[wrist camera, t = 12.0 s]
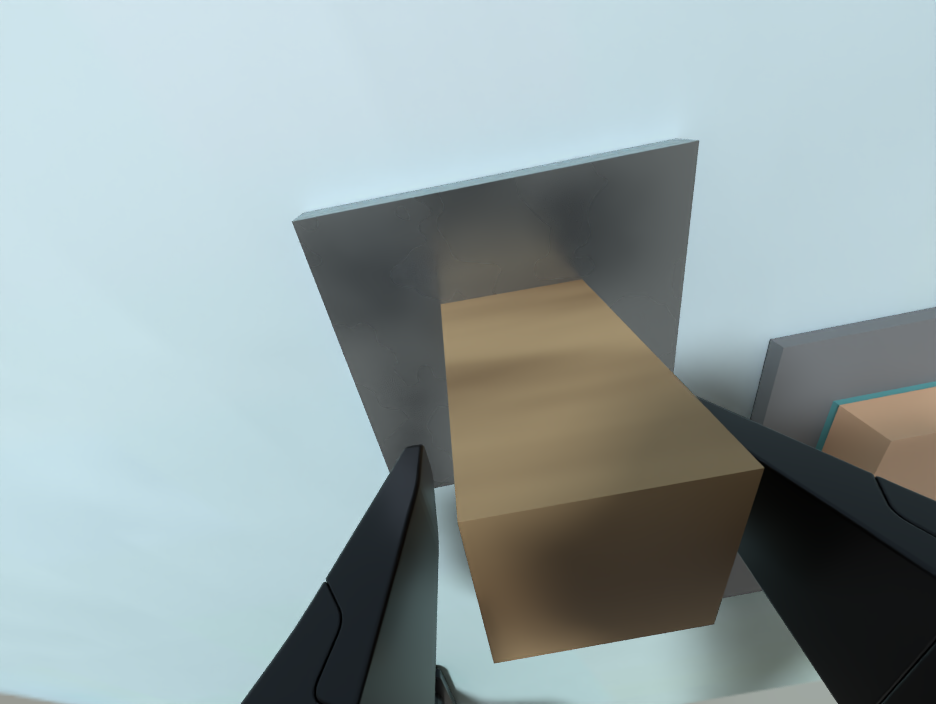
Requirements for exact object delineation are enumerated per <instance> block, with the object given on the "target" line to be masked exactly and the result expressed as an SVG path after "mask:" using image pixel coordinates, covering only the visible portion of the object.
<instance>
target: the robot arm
mask: <svg viewBox="0 0 936 704" xmlns="http://www.w3.org/2000/svg"><path fill="white" fill-rule="evenodd" d="M694 396H695V395H694ZM695 397H696V398H697V399H698V400H699V401H700V402H701V403H702V404H703V405H704V406H705V407H706V408H707V409H708V410H709V411H710V412H711V413H712V414H713V415H714V416H715V417H716V418H717V419H718V420H719V421H720V422H721V423H722V424H723V426H724V427H725V428H726V429H727V430H728V431H729V432H730V433H731V434H732V435H733V436H734V437H735V438H736V439H737V440H738V441H739V442H740V443H741V444H742V445H743V446H744V447H745V448H746V449H747V450H748V451H749V452H750V453H751V455H752V456H753V457H754V458H755V459H756V460H757V461H758V462H759V463H760V464H761V465H762V466H763V467H764V471H763V474H762V477H761V480H760V483H759V486H758V490H757V493H756V496H755V499H754V502H753V505H752V508H751V511H750V514H749V517H748V520H747V524H746V527H745V530H744V533H743V536H742V539H741V542H740V545H739V548H738V551H737V552H738V554H739V555H740V557H741V558H742V560H743V561H744V563H745V564H746V566H747V567H748V569H749V570H750V572H751V573H752V575H753V576H754V578H755V579H756V581H757V582H758V584H759V585H760V587H761V588H762V590H763V591H764V593H765V594H766V596H767V597H768V599H769V600H770V602H771V604H772V605H773V607H774V608H775V610H776V611H777V613H778V614H779V616H780V617H781V619H782V620H783V622H784V623H785V625H786V626H787V628H788V629H789V631H790V632H791V634H792V635H793V637H794V638H795V640H796V641H797V643H798V644H799V646H800V647H801V649H802V650H803V652H804V653H805V655H806V656H807V658H808V659H809V661H810V662H811V664H812V665H813V667H814V668H815V670H816V671H817V673H818V674H819V676H820V677H821V679H822V680H823V682H824V683H825V685H826V687H827V688H828V690H829V691H830V693H831V694H832V696H833V697H834V699H835V700H836V702H837V703H838V704H936V501H935V500H933V499H930V498H928V497H926V496H923V495H921V494H919V493H916V492H914V491H912V490H909V489H907V488H904V487H902V486H900V485H898V484H895V483H893V482H891V481H888V480H886V479H884V478H882V477H879V476H876V477H874V475H873V474H872V473H870V472H868V471H865V470H863V469H861V468H859V467H856V466H854V465H852V464H850V463H847V462H845V461H843V460H840V459H838V458H836V457H834V456H831V455H829V454H827V453H824V452H822V451H820V450H818V449H815V448H813V447H811V446H809V445H806V444H804V443H802V442H799V441H797V440H795V439H793V438H790V437H788V436H786V435H783V434H781V433H779V432H777V431H774V430H772V429H770V428H768V427H765V426H763V425H761V424H758V423H756V422H754V421H752V420H749V419H747V418H745V417H743V416H740V415H738V414H736V413H733V412H731V411H729V410H727V409H724V408H722V407H720V406H717V405H715V404H713V403H711V402H708V401H706V400H704V399H702V398H699V397H697V396H695ZM438 557H439V540H438V526H437V515H436V504H435V493H434V482H433V474H432V469H431V466H430V463H429V459H428V456H427V453H426V450H425V447H424V446H423V445H422V444H418V445H413V446H408V447H406V448H405V449H404V450H403V452H402V454H401V455H400V457H399V459H398V460H397V462H396V464H395V465H394V467H393V469H392V470H391V472H390V474H389V475H388V477H387V478H386V480H385V482H384V483H383V485H382V487H381V488H380V490H379V492H378V493H377V495H376V497H375V498H374V500H373V502H372V503H371V505H370V507H369V508H368V510H367V511H366V513H365V515H364V516H363V518H362V520H361V521H360V523H359V525H358V526H357V528H356V530H355V531H354V533H353V535H352V536H351V538H350V539H349V541H348V543H347V544H346V546H345V548H344V549H343V551H342V553H341V554H340V556H339V558H338V559H337V561H336V563H335V564H334V566H333V568H332V569H331V571H330V572H329V574H328V576H327V577H326V582H323V584H322V585H321V587H320V589H319V590H318V592H317V594H316V595H315V597H314V599H313V600H312V602H311V603H310V605H309V606H308V608H307V610H306V611H305V613H304V614H303V616H302V617H301V619H300V621H299V622H298V624H297V625H296V627H295V628H294V630H293V631H292V633H291V634H290V636H289V637H288V638H287V640H286V641H285V643H284V644H283V646H282V647H281V649H280V650H279V651H278V653H277V654H276V656H275V657H274V659H273V660H272V661H271V663H270V664H269V666H268V667H267V668H266V670H265V671H264V672H263V674H262V675H261V677H260V678H259V679H258V681H257V682H256V683H255V685H254V686H253V688H252V689H251V690H250V692H249V693H248V695H247V696H246V697H245V699H244V700H243V701H242V703H241V704H456V702H455V700H454V698H453V696H452V694H451V691H450V689H449V687H448V685H447V683H446V681H445V679H444V676H443V674H442V672H441V670H439V669H435V668H436V631H437V594H438Z"/></svg>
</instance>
